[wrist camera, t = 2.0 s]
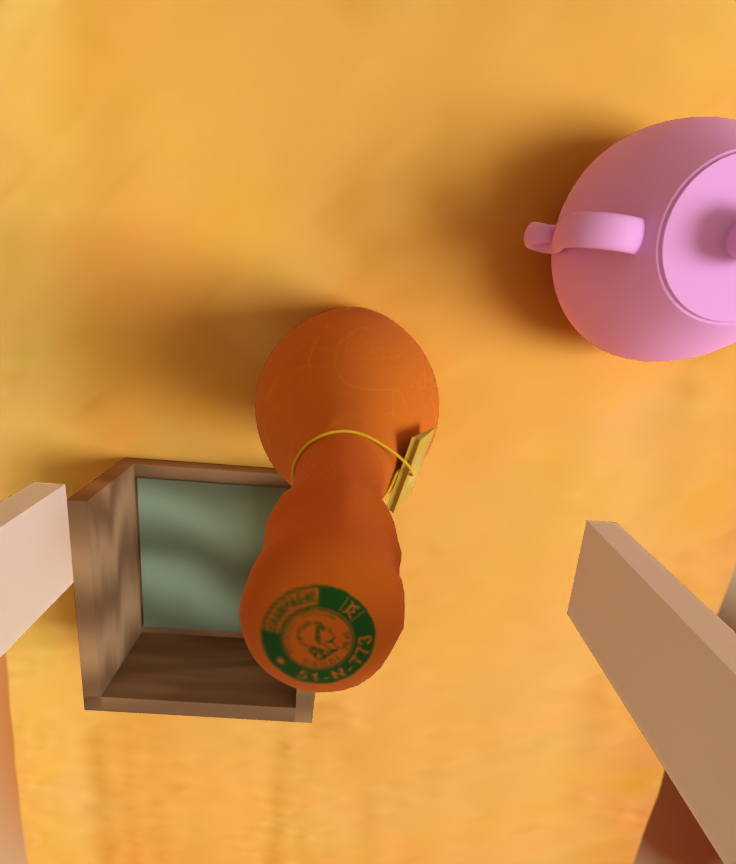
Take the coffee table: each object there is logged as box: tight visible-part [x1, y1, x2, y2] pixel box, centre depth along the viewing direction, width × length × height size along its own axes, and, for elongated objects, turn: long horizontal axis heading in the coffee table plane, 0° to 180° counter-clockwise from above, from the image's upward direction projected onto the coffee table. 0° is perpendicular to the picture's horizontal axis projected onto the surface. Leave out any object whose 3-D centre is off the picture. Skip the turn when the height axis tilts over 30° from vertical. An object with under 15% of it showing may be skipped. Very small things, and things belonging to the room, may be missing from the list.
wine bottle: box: [238, 307, 439, 692], centre depth 24 cm, size 10×10×30 cm
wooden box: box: [67, 458, 315, 723], centre depth 38 cm, size 16×16×8 cm
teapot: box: [524, 117, 736, 361], centre depth 30 cm, size 20×14×12 cm
